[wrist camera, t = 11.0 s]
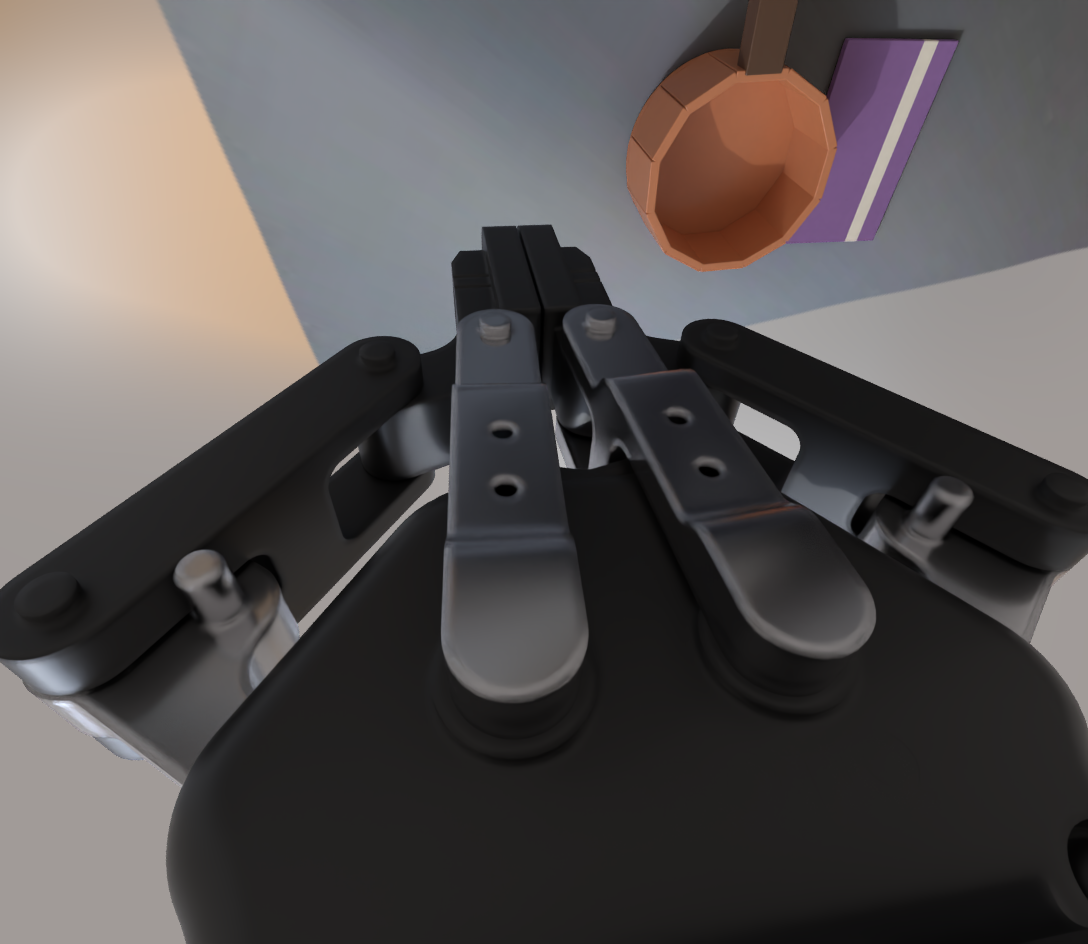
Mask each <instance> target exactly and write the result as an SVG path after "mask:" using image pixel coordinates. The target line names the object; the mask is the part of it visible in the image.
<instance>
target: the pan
mask: <svg viewBox="0 0 1088 944" xmlns="http://www.w3.org/2000/svg"><path fill="white" fill-rule="evenodd" d="M797 4H798V0H749V3H748V8H747V14H746V19H745V25H744V30H743V36H742V41H741V47H740V49H729V48H728V49H721V50H715V51H712V52H708V53H705V54H702V55H700V56H698V57H696V58H693V59H691V60H690V61H688V62H686V63H685V64H683V65H682V66H680V67H679V68H677V69H676V70H675V71H674V72H672V73H671V74H670V75H669V76H668V77H667V78H666V79H665V80H664V81H663V82H662V83H661V84H660V85H659V86H658V87H657V88H656V90H655V91H654V92H653V93H652V94H651V96H650V97H649V99H648V100H647V102H646V103H645V105H644V107H643V108H642V110H641V112H640V114H639V116H638V118H637V120H636V122H635V125H634V128H633V130H632V133H631V137H630V141H629V145H628V151H627V158H626V173H627V186H628V187H627V188H628V190H629V192H630V194H631V197H632V199H633V202H634V204H635V205H636V207H637V209H638V211H639V213H640V215H641V217H642V219H643V221H644V223H645V225H646V226H647V228H648V229H649V231H650V232H651V234H652V235H653V237H654V238H655V240H656V242H657V243H658V245H659V246H660V248H661V249H662V251H663V252H664V253H665V254H666V255H668V256H670V257H672V258H674V259H676V260H678V261H680V262H682V263H683V264H685V265H687V266H689V267H691V268H693V269H695V270H697V271H701V272H704V271H715V270H726V269H737V268H743V266H744V267H746V266H748V265H749V264H751V263H753V262H754V261H756V260H758V259H760V258H761V257H763V256H765V255H766V254H768V253H770V252H772V251H773V250H775V249H777V248H778V247H780V246H782V245H784V244H785V243H786V241H789V240H790V238H791V237H792V236H793V235H794V233H795V232H796V231H797V230H798V228H799V227H800V226H801V225H802V223H803V222H804V221H805V220H806V218H807V217H808V216H809V215H810V213H811V212H812V211H813V210H814V208H815V207H816V206H817V205H818V203H819V202H820V201H821V200H820V199H822V196H823V193H824V190H825V187H826V183H827V180H828V177H829V174H830V170H831V167H832V164H833V161H834V157H835V154H836V151H837V148H836V147H837V141H836V136H835V131H834V126H833V121H832V116H831V111H830V106H829V101H828V98H827V96H826V95H825V94H823V93H822V92H821V91H819V90H818V89H817V88H816V87H814V86H813V85H812V84H811V83H809V82H808V81H807V80H806V79H804V78H803V77H802V76H801V75H799V74H798V73H797V72H796V71H794V70H793V69H792V68H790V67H788V66H786V65H784V61H785V56H786V52H787V48H788V43H789V39H790V35H791V30H792V26H793V21H794V17H795V13H796V8H797Z"/></svg>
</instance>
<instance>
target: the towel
mask: <svg viewBox="0 0 1088 944" xmlns="http://www.w3.org/2000/svg"><path fill="white" fill-rule="evenodd" d="M958 42H959V41H958V40H955V39H886V38H845V40H844V43H843V46H842V50H841V53H840V56H839V59H838V62H837V65H836V68H835V71H834V74H833V78H832V81H831V84H830V87H829V90H828V93H827V98H828V101H829V106H830V111H831V116H832V121H833V126H834V131H835V136H836V141H837V147H836V148H837V151H836V154H835V157H834V161H833V164H832V167H831V170H830V174H829V177H828V180H827V183H826V187H825V190H824V193H823V196H822V199H820V200H821V201H820V202H819V203H818V205H817V206H816V207H815V208H814V210H813V211H812V212H811V213H810V215H809V216H808V217H807V218H806V220H805V221H804V222H803V223H802V225H801V226H800V227H799V228H798V230H797V231H796V232H795V233H794V235H793V236H792V237H791V238H790V240H789V241H786V243H785V244H788V243H814V242H841V241H867V240H873V239H874V236H875V234H876V232H877V230H878V227H879V225H880V223H881V220H882V218H883V216H884V213H885V211H886V209H887V206H888V204H889V202H890V199H891V197H892V195H893V193H894V190H895V188H896V186H897V183H898V181H899V179H900V176H901V174H902V172H903V169H904V167H905V165H906V162H907V160H908V158H909V156H910V153H911V151H912V149H913V146H914V144H915V142H916V139H917V137H918V135H919V132H920V130H921V128H922V125H923V123H924V121H925V119H926V116H927V114H928V112H929V109H930V107H931V105H932V102H933V100H934V98H935V95H936V93H937V91H938V88H939V86H940V84H941V81H942V79H943V77H944V75H945V72H946V70H947V68H948V65H949V63H950V61H951V58H952V56H953V54H954V51H955V49H956V47H957V44H958Z"/></svg>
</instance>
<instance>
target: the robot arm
mask: <svg viewBox="0 0 1088 944" xmlns="http://www.w3.org/2000/svg"><path fill="white" fill-rule="evenodd" d="M451 265H452V279H453V292H454V305H455V319H456V330H457V335H456V336H455V338H454V339H453V340H452V341H451V342H449V343H448V344H447V345H445V346H443V347H441V348H439V349H437V350H434V351H431V352H427V353H423V354H420V352H419V350H418V348H417V347H416V346H415V345H414V344H412V343H411V342H409V341H407V340H405V339H401V338H397V337H391V336H377V337H370V338H365V339H362V340H359V341H356V342H354V343H352V344H350V345H348V346H347V347H345V348H344V349H342V350H341V351H339V352H338V353H337V354H335V355H334V356H332V357H331V358H329V359H328V360H327V361H325V362H324V363H322V364H321V365H319V366H318V367H316V368H315V369H314V370H312V371H311V372H309V373H308V374H306V375H305V376H303V377H302V378H301V379H299V380H298V381H296V382H295V383H293V384H292V385H291V386H289V387H288V388H286V389H285V390H283V391H282V392H281V393H279V394H278V395H276V396H275V397H273V398H272V399H270V400H269V401H268V402H266V403H265V404H263V405H262V406H260V407H259V408H257V409H256V410H255V411H253V412H252V413H250V414H249V415H247V416H246V417H245V418H243V419H242V420H240V421H239V422H237V423H236V424H234V425H233V426H232V427H230V428H229V429H227V430H226V431H224V432H223V433H221V434H220V435H219V436H217V437H216V438H214V439H213V440H211V441H210V442H209V443H207V444H206V445H204V446H203V447H202V448H200V449H198V450H197V451H196V452H194V453H193V454H191V455H190V456H189V457H187V458H186V459H184V460H183V461H181V462H180V463H179V464H177V465H176V466H174V467H173V468H171V469H170V470H168V471H167V472H166V473H164V474H163V475H161V476H160V477H158V478H157V479H156V480H154V481H152V482H151V483H150V484H148V485H147V486H145V487H144V488H142V489H141V490H140V491H138V492H137V493H135V494H134V495H132V496H131V497H129V498H128V499H127V500H125V501H124V502H122V503H121V504H119V505H118V506H116V507H115V508H114V509H112V510H111V511H110V512H108V513H106V514H105V515H104V516H102V517H101V518H99V519H98V520H97V521H95V522H93V523H92V524H91V525H89V526H88V527H86V528H85V529H83V530H82V531H81V532H79V533H78V534H76V535H75V536H73V537H72V538H71V539H69V540H68V541H66V542H65V543H63V544H62V545H60V546H59V547H58V548H56V549H55V550H53V551H52V552H50V553H49V554H47V555H46V556H45V557H43V558H42V559H40V560H39V561H37V562H36V563H35V564H33V565H32V566H30V567H29V568H27V569H26V570H24V571H23V572H22V573H20V574H19V575H17V576H16V577H15V578H13V579H12V580H11V581H9V582H8V583H7V584H6V585H5V586H3V587H2V588H1V589H0V662H1V663H2V664H3V665H5V666H6V667H7V668H8V669H9V670H11V671H12V672H13V673H14V674H15V675H17V676H18V677H19V678H20V679H22V681H23V684H24V685H25V687H26V688H27V689H28V691H30V692H31V693H32V694H34V695H35V696H36V697H37V698H38V699H40V700H41V701H42V702H44V703H45V704H46V705H47V706H48V707H50V708H51V709H52V710H53V711H55V712H56V713H57V714H58V715H60V716H61V717H62V718H64V719H65V720H66V721H67V722H69V723H70V724H71V725H72V726H74V727H75V728H76V729H77V730H79V731H80V732H82V733H84V734H86V735H89V736H92V737H93V738H95V739H96V740H97V741H98V742H100V743H101V744H102V745H103V746H105V747H106V748H107V749H108V750H110V751H111V752H112V753H114V754H115V755H116V756H118V757H120V758H123V759H128V760H143V759H145V760H146V761H147V762H149V763H150V764H151V765H152V766H154V767H155V768H157V769H158V770H159V771H160V772H162V773H163V774H164V775H165V776H167V777H168V778H169V779H171V780H172V781H173V782H174V783H176V784H177V785H179V786H180V787H181V790H180V793H179V796H178V798H177V801H176V804H175V807H174V810H173V814H172V818H171V822H170V826H169V833H168V840H167V851H166V867H167V879H168V885H169V891H170V895H171V899H172V903H173V905H174V908H175V911H176V913H177V916H178V919H179V922H180V924H181V927H182V930H183V934H184V937H185V941H186V944H1088V728H1087V724H1086V721H1085V718H1084V716H1083V713H1082V711H1081V709H1080V707H1079V704H1078V702H1077V701H1076V699H1075V697H1074V695H1073V694H1072V692H1071V690H1070V689H1069V687H1068V685H1067V684H1066V683H1065V681H1064V680H1063V679H1062V677H1061V676H1060V675H1059V673H1058V672H1057V671H1056V669H1055V668H1054V667H1053V666H1052V665H1051V664H1050V663H1049V662H1048V661H1047V660H1046V658H1045V657H1044V656H1043V655H1042V654H1041V653H1039V652H1038V651H1037V650H1036V649H1035V648H1034V647H1033V646H1032V645H1031V644H1030V642H1031V639H1032V636H1033V633H1034V631H1035V628H1036V625H1037V623H1038V620H1039V617H1040V615H1041V612H1042V610H1043V607H1044V604H1045V602H1046V599H1047V596H1048V594H1049V591H1050V588H1051V586H1052V585H1054V584H1055V583H1056V582H1057V581H1058V580H1059V579H1060V578H1061V577H1062V576H1064V575H1065V574H1066V573H1067V572H1068V571H1069V570H1070V569H1071V568H1072V567H1073V566H1074V565H1076V564H1077V563H1078V562H1079V561H1080V560H1081V559H1082V558H1083V557H1085V555H1087V554H1088V479H1086V478H1084V477H1083V476H1081V475H1079V474H1077V473H1075V472H1073V471H1070V470H1068V469H1066V468H1064V467H1062V466H1059V465H1057V464H1055V463H1052V462H1050V461H1048V460H1046V459H1043V458H1041V457H1039V456H1037V455H1034V454H1032V453H1029V452H1027V451H1025V450H1023V449H1021V448H1018V447H1016V446H1014V445H1012V444H1009V443H1007V442H1005V441H1002V440H1000V439H998V438H996V437H993V436H991V435H989V434H986V433H984V432H982V431H980V430H977V429H975V428H973V427H971V426H968V425H966V424H964V423H962V422H959V421H957V420H955V419H952V418H950V417H948V416H946V415H943V414H941V413H938V412H936V411H934V410H932V409H930V408H927V407H925V406H923V405H920V404H918V403H916V402H914V401H911V400H909V399H907V398H905V397H902V396H900V395H898V394H896V393H893V392H891V391H889V390H886V389H884V388H882V387H879V386H877V385H875V384H873V383H871V382H868V381H866V380H864V379H861V378H859V377H857V376H855V375H852V374H850V373H848V372H846V371H843V370H841V369H839V368H836V367H834V366H832V365H830V364H827V363H825V362H823V361H820V360H818V359H816V358H814V357H811V356H809V355H807V354H805V353H802V352H800V351H798V350H796V349H793V348H791V347H789V346H786V345H784V344H782V343H779V342H777V341H775V340H773V339H770V338H768V337H766V336H764V335H761V334H759V333H757V332H755V331H752V330H750V329H748V328H746V327H743V326H741V325H739V324H736V323H733V322H730V321H725V320H719V319H702V320H697V321H694V322H692V323H690V324H688V325H687V326H686V327H685V328H684V329H683V332H682V336H681V340H680V341H675V340H668V339H661V338H654V337H649V336H646V335H645V334H644V332H643V331H642V329H641V328H640V326H639V324H638V323H637V321H636V320H635V319H634V317H633V316H632V315H631V314H629V313H628V312H626V311H624V310H622V309H620V308H617V307H614V306H612V304H611V301H610V299H609V297H608V295H607V293H606V291H605V289H604V286H603V284H602V282H600V278H599V276H598V274H597V272H596V269H595V267H594V265H593V263H592V261H591V259H590V257H589V256H587V255H586V254H585V253H583V252H582V251H581V250H579V249H578V248H577V247H560V245H559V242H558V240H557V237H556V235H555V232H554V230H553V227H552V225H523V226H518V227H517V228H516V226H494V227H482V250H477V251H460V252H459V253H458V254H457V256H456V257H455V258H454V260H453V261H452V263H451ZM740 403H743V404H745V405H747V406H749V407H751V408H753V409H755V410H757V411H759V412H761V413H763V414H765V415H767V416H769V417H771V418H773V419H775V420H777V421H779V422H780V423H782V424H784V425H787V426H788V427H790V428H791V429H792V430H793V431H794V432H795V433H796V434H797V436H798V438H799V441H800V451H799V454H798V455H797V458H796V460H795V461H793V460H791V459H789V458H787V457H785V456H783V455H782V454H780V453H778V452H776V451H774V450H772V449H770V448H768V447H767V446H764V445H763V444H761V443H759V442H757V441H755V440H753V439H751V438H750V437H748V436H746V435H744V434H742V433H740V432H738V431H737V430H736V429H735V427H734V426H733V424H734V421H735V418H736V415H737V412H738V409H739V406H740ZM551 410H555V411H556V415H557V416H556V431H555V433H554V426H553V420H552V413H551ZM555 436H556V439H557V443H558V445H559V448H560V451H561V453H562V456H563V459H564V461H565V463H566V466H567V468H562V467H560V466H559V460H558V453H557V446H556V440H555ZM357 447H358V448H359V452H358V453H357V454H356V455H355V456H354V457H353V458H351V459H350V460H349V461H348V462H347V463H346V464H345V465H344V466H342V467H341V468H340V469H339V470H338V471H337V472H335V473H334V474H333V475H332V476H331V474H332V472H333V470H334V469H335V467H336V466H337V465H338V463H339V462H340V461H342V460H343V459H344V458H345V457H346V456H347V455H348V454H350V453H351V452H352V451H353V450H354V449H356V448H357ZM447 465H449V493H446V494H444V495H441V496H439V497H438V498H436V499H434V500H432V501H430V502H428V503H427V504H425V505H424V506H422V507H421V508H419V509H418V510H416V511H415V512H414V513H413V514H412V515H411V516H409V517H408V518H407V519H406V520H405V521H404V522H403V523H402V524H401V525H400V526H399V527H398V528H397V530H395V532H394V533H393V534H392V535H391V536H390V537H389V538H388V539H387V541H386V542H385V543H384V544H383V545H382V546H381V547H380V548H379V550H378V551H377V552H376V553H375V554H374V555H373V556H372V557H371V559H370V560H369V561H368V562H367V563H366V564H365V565H364V567H363V568H362V569H361V570H360V571H359V572H358V573H357V574H356V575H355V577H354V578H353V579H352V580H351V581H350V582H349V583H348V584H347V586H346V587H345V588H344V589H343V590H342V591H341V592H340V594H339V595H338V596H337V597H336V598H335V599H334V600H333V601H332V603H331V604H330V605H329V606H328V607H327V608H326V609H325V610H324V612H323V613H322V614H321V615H320V616H319V617H318V618H317V620H316V621H315V622H314V623H313V624H312V625H311V626H310V627H309V628H308V630H307V631H306V632H305V633H304V634H303V635H302V636H301V637H300V639H299V628H298V625H297V624H298V623H299V622H300V621H301V620H302V618H303V617H304V616H305V615H306V614H307V613H308V612H309V611H310V610H311V609H312V608H313V607H314V606H315V605H316V604H317V603H318V602H319V601H320V600H321V599H322V598H323V597H324V596H325V594H327V593H328V591H329V590H330V589H331V588H332V587H333V586H334V585H335V584H336V583H337V582H338V581H339V580H340V579H341V578H342V577H343V576H344V575H345V574H346V573H347V572H348V571H349V570H350V569H351V568H352V567H353V565H354V564H355V563H356V562H357V561H358V560H359V559H360V558H361V557H362V556H363V555H364V554H365V553H366V552H367V551H368V550H369V549H370V548H371V547H372V546H373V545H374V544H375V543H376V542H377V541H378V540H379V538H380V537H381V536H382V535H383V534H384V533H385V532H386V531H387V530H388V529H389V528H390V527H391V526H392V525H393V524H394V523H395V522H396V521H397V520H398V519H399V518H400V517H401V515H403V514H404V512H405V511H406V510H407V509H408V508H409V507H410V506H411V505H412V504H413V503H414V502H415V501H416V500H417V499H418V498H419V497H420V496H421V495H422V494H423V493H424V492H425V491H426V490H427V489H428V488H429V486H430V485H431V483H432V482H433V480H434V477H435V470H436V469H439V468H441V467H444V466H447Z"/></svg>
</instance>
